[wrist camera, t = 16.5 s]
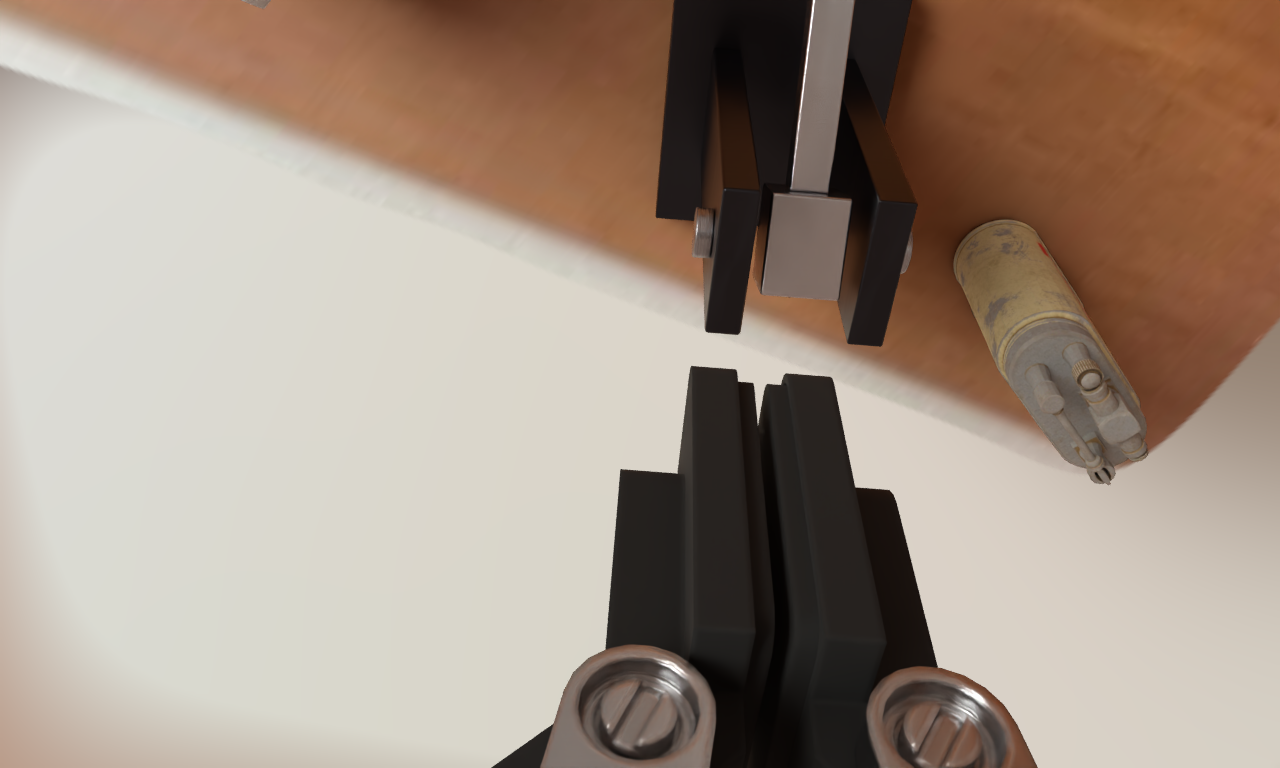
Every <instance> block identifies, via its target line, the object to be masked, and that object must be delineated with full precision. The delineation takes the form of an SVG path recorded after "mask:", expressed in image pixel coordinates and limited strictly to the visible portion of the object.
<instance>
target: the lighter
mask: <svg viewBox="0 0 1280 768" xmlns="http://www.w3.org/2000/svg"><path fill="white" fill-rule="evenodd" d="M953 265H954V273H955V277H956V279H957V281H958V282H959V283H960V285H961V286H962V288H963V291H964V293H965V295H966V297H967V300H968V302H969V304H970V306H971V311H972V313H973V316H974V318H975V319H976V320H977V322H978V325H979V327H980V329H981V331H982V334H983V336H984V338H985V341H986V343H987V345H988V347H989V350H990V352H991V354H992V356H993V359H994V361H995V363H996V366H997V368H998V370H999V372H1000V373H1001V375H1002V376H1003V377H1004V379H1005V380H1006V381H1007V383H1008V384H1009V386H1010V387H1011V388H1012V390H1013V391H1014V392H1015V394H1016V395H1017V396H1018V398H1019V399H1020V400H1021V402H1022V403H1023V405H1024V406H1025V407H1026V409H1027V410H1028V412H1029V413H1030V415H1031V416H1032V417H1033V419H1034V420H1035V422H1036V423H1037V425H1038V426H1039V427H1040V428H1041V430H1042V431H1043V432H1044V434H1045V435H1046V436H1047V438H1048V439H1049V440H1050V441H1051V443H1052V444H1053V445H1054V447H1055V448H1056V449H1057V451H1058V452H1059V453H1060V455H1061V456H1062V457H1063V458H1064V459H1065V460H1066V461H1068V462H1069V463H1071V464H1073V465H1076V466H1078V467H1082V468H1086V469H1087V472H1088V474H1089V476H1090V478H1091V480H1092V481H1093V482H1094V483H1098V484H1104V483H1106V484H1107V485H1110V484H1111V483H1110V481H1111V480H1112V479H1113V478H1114V476H1115V474H1116V473H1115V469H1114V467H1113V466H1115V465H1118V464H1120V463H1122V462H1124V461H1126V460H1127V459H1130V460H1131V461H1134V462H1138V461H1141V460H1143V459H1144V458H1146V457H1147V455H1148V452H1149V451H1148V448H1147V444H1146V442H1145V441H1144V439H1145V435H1146V431H1147V424H1146V419H1145V417H1144V415H1143V413H1142V412H1141V410H1140V407H1141V406H1140V400H1139V398H1138V396H1137V395H1136V393H1135V391H1134V390H1133V388H1132V387H1131V385H1130V383H1129V382H1128V380H1127V378H1126V377H1125V375H1124V374H1123V372H1122V370H1121V369H1120V367H1119V365H1118V364H1117V362H1116V360H1115V359H1114V357H1113V356H1112V354H1111V352H1110V351H1109V349H1108V347H1107V346H1106V344H1105V343H1104V341H1103V339H1102V338H1101V336H1100V334H1099V333H1098V331H1097V330H1096V328H1095V326H1094V325H1093V323H1092V321H1091V320H1090V318H1089V317H1088V315H1087V313H1086V312H1085V310H1084V306H1083V303H1082V302H1081V300H1080V299H1079V297H1078V296H1077V294H1076V293H1075V291H1074V290H1073V288H1072V286H1071V285H1070V283H1069V282H1068V280H1067V279H1066V277H1065V276H1064V274H1063V273H1062V271H1061V270H1060V268H1059V267H1058V265H1057V263H1056V262H1055V260H1054V259H1053V257H1052V256H1051V254H1050V253H1049V251H1048V250H1047V248H1046V247H1045V245H1044V243H1043V242H1042V240H1041V239H1040V237H1039V236H1038V234H1037V233H1036V231H1035V230H1034V229H1033V228H1031V227H1030V226H1029V225H1027V224H1025V223H1022V222H1020V221H1015V220H1004V219H1003V220H996V221H992V222H988V223H985V224H983V225H981V226H979V227H977V228H976V229H974V230H973V231H972V232H970V233H969V234H968V235H967V236H966V237H965V238H964V239H963V240H962V242H961V243H960V245H959V246H958V248H957V251H956V253H955V257H954V262H953Z"/></svg>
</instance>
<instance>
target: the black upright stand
mask: <svg viewBox="0 0 1280 768" xmlns="http://www.w3.org/2000/svg"><path fill="white" fill-rule="evenodd" d="M807 1H808V0H674V3H673V14H672V26H671V38H670V49H669V61H668V73H667V85H666V96H665V108H664V120H663V131H662V143H661V155H660V167H659V178H658V190H657V202H656V218H665V219H677V220H690V221H694V228H693V240H692V256H693V257H698V258H703V276H704V314H705V331H706V332H708V333H721V334H733V335H738V334H739V333H740V332H741V325H742V318H743V312H744V305H745V299H746V292H747V285H748V279H749V272H750V265H751V259H752V252H753V246H754V239H755V232H756V226H758V224H759V215H760V206H761V198H762V189H763V184H764V183H775V184H786V176H787V167H788V159H789V151H790V143H791V134H792V126H793V118H794V109H795V101H796V93H797V84H798V76H799V68H800V59H801V51H802V43H803V34H804V26H805V18H806V10H807ZM911 4H912V0H855V4H854V11H853V19H852V26H851V33H850V41H849V48H848V56H847V63H846V71H845V78H844V86H843V93H842V101H841V108H840V116H839V123H838V131H837V138H836V146H835V153H834V160H833V168H832V175H831V183H830V188H836V189H838V190H840V191H841V192H843V193H844V194H845V195H847V196H848V197H850V198H851V199H852V200H853V208H852V215H851V222H850V229H849V236H848V243H847V250H846V257H845V264H844V271H843V278H842V285H841V292H840V298H839V300H837V301H838V306H839V310H840V314H841V318H842V323H843V327H844V331H845V335H846V339H847V343H848V344H854V345H867V346H879V347H881V346H882V345H883V341H884V337H885V333H886V329H887V325H888V321H889V317H890V313H891V309H892V305H893V301H894V297H895V293H896V289H897V285H898V281H899V277H900V274H902V273H905V272H906V270H907V268H908V266H909V263H910V260H911V255H912V248H913V232H912V226H913V222H914V218H915V214H916V210H917V206H918V204H917V202H916V199H915V197H914V195H913V192H912V190H911V188H910V185H909V183H908V181H907V178H906V176H905V174H904V171H903V169H902V167H901V164H900V162H899V160H898V157H897V155H896V153H895V150H894V148H893V146H892V143H891V141H890V139H889V136H888V134H887V132H886V129H885V122H886V118H887V113H888V108H889V104H890V99H891V95H892V90H893V86H894V81H895V77H896V72H897V67H898V63H899V58H900V54H901V49H902V45H903V40H904V35H905V31H906V26H907V22H908V17H909V13H910V8H911Z"/></svg>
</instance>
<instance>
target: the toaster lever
mask: <svg viewBox="0 0 1280 768" xmlns="http://www.w3.org/2000/svg"><path fill="white" fill-rule="evenodd" d="M854 4H855V0H808V1H807V10H806V18H805V26H804V34H803V43H802V51H801V59H800V68H799V76H798V84H797V93H796V101H795V109H794V118H793V126H792V134H791V143H790V151H789V159H788V167H787V176H786V184H775V183H764V184H763V189H762V198H761V206H760V215H759V224H758V233H757V242H756V250H755V259H754V268H753V278H754V280H755V282H756V284H757V287H758V289H759V291H760V293H761V294H762V295H770V296H782V297H795V298H808V299H820V300H833V301H837V300H839V298H840V292H841V285H842V278H843V271H844V264H845V257H846V250H847V243H848V236H849V229H850V222H851V215H852V208H853V200H852V199H851V198H850V197H848V196H847V195H845V194H844V193H843V192H841V191H840V190H838V189H836V188H830V183H831V175H832V168H833V160H834V153H835V146H836V138H837V131H838V123H839V116H840V108H841V101H842V93H843V86H844V78H845V71H846V63H847V56H848V48H849V41H850V33H851V26H852V19H853V11H854Z"/></svg>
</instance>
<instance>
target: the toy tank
mask: <svg viewBox="0 0 1280 768" xmlns="http://www.w3.org/2000/svg"><path fill="white" fill-rule="evenodd" d="M242 1H244V2H246V3H249V4H251V5H254V6H256V7H259V8H262V9H264V8H266V7H267V5H268V4H269V2H270V1H271V0H242Z"/></svg>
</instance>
